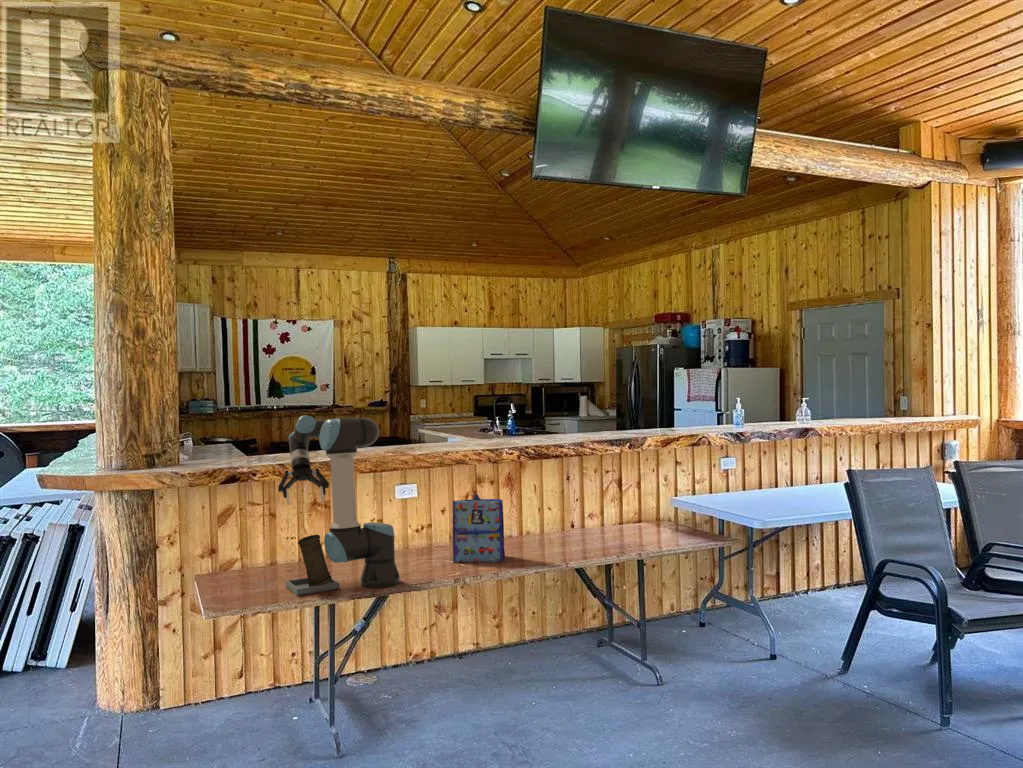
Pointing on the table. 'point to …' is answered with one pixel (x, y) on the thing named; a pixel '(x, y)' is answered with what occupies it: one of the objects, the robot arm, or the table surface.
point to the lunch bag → (478, 530)
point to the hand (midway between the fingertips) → (305, 502)
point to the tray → (303, 588)
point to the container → (314, 560)
